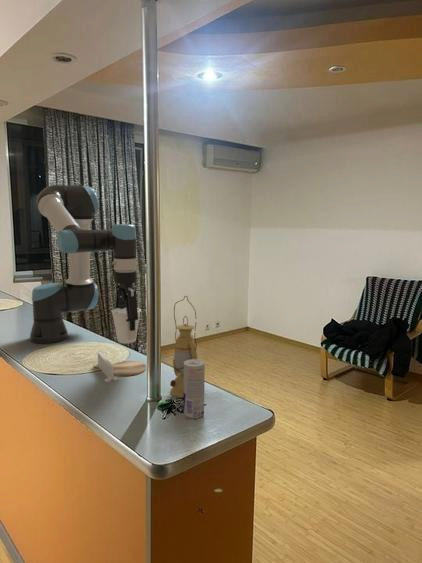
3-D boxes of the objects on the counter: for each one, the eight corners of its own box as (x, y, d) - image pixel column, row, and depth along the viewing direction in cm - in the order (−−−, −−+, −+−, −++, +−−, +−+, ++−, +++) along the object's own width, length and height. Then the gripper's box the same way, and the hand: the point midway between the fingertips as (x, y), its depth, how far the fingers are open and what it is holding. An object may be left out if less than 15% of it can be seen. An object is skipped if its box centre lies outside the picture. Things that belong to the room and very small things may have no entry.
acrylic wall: (93, 366, 145) (93, 352, 144) (104, 364, 147) (104, 350, 146) (106, 382, 131) (105, 367, 130) (118, 380, 133) (117, 365, 132)
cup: (135, 346, 135) (134, 314, 133) (107, 344, 137) (106, 312, 135) (145, 338, 144) (145, 307, 143) (119, 336, 146) (118, 306, 145)
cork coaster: (103, 366, 145) (103, 364, 145) (138, 360, 151) (138, 358, 151) (114, 379, 134) (114, 377, 134) (151, 371, 140) (151, 370, 140)
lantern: (160, 389, 126) (159, 294, 121) (185, 381, 133) (186, 290, 128) (182, 403, 117) (183, 301, 112) (209, 394, 123) (210, 297, 118)
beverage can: (208, 414, 111) (209, 362, 109) (194, 422, 107) (194, 367, 105) (193, 407, 115) (194, 356, 112) (179, 414, 111) (179, 362, 108)
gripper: (105, 267, 144) (107, 329, 148) (124, 275, 125) (126, 346, 129) (125, 266, 148) (127, 326, 152) (147, 274, 129) (148, 342, 133)
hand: (126, 335), depth 140 cm, fingers closed on cup, 9 cm apart
